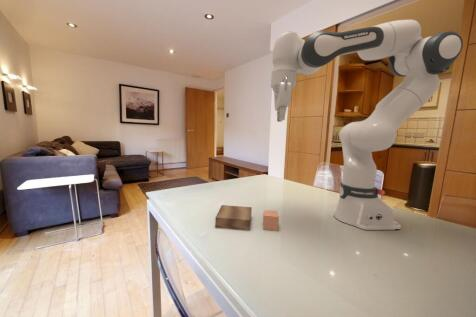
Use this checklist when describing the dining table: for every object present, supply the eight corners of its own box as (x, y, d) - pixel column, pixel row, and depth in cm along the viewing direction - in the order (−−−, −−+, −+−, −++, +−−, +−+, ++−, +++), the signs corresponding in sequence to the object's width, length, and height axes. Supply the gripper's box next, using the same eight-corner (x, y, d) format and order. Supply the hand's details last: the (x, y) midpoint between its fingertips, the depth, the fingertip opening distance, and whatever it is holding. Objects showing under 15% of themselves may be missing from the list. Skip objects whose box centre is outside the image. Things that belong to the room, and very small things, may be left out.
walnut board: (251, 216, 82) (251, 207, 81) (249, 231, 70) (250, 220, 69) (221, 214, 83) (221, 205, 82) (215, 228, 71) (215, 217, 71)
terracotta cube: (276, 224, 75) (277, 211, 75) (277, 230, 71) (278, 216, 70) (262, 223, 76) (263, 210, 75) (263, 229, 71) (263, 215, 70)
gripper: (297, 74, 64) (293, 119, 66) (288, 88, 84) (285, 122, 86) (276, 74, 64) (273, 118, 66) (272, 87, 85) (270, 121, 87)
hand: (280, 121), depth 76 cm, fingers open, 8 cm apart
